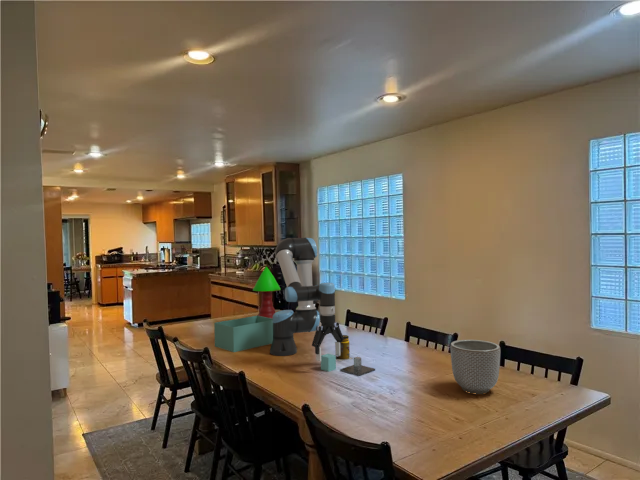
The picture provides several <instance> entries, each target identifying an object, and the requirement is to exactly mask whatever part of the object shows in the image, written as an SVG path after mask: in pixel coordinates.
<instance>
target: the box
mask: <svg viewBox="0 0 640 480" xmlns="http://www.w3.org/2000/svg"><path fill="white" fill-rule="evenodd" d="M272 321H273V319H272V318H267V317H262V316H257V315H252V316H246V317H240V318H235V319H229V320H223V321H217V322H213V323H214V328H213V329H214V333H213V334H214V347H216V348H219V349H222V350H226V351H227V352H231V353H237V352H241V351H246V350H249V349H254V348H260V347H263V346H267V345H272V341H273V323H272Z"/></svg>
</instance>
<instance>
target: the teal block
mask: <svg viewBox="0 0 640 480" xmlns="http://www.w3.org/2000/svg"><path fill="white" fill-rule="evenodd" d="M336 357H337V355H334V354H331V353H326V354H321V361H320V370H321V371H324V372H331V371H335V370H337V360H336Z"/></svg>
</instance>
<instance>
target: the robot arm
mask: <svg viewBox="0 0 640 480" xmlns="http://www.w3.org/2000/svg"><path fill="white" fill-rule="evenodd" d="M317 256H318V246H317V243H316V241H315V240H314V238H311V237H287V238H284V239H282V240H281V241H280V242H279V243H278V244H277V246H276V247H275V250H274V257H275V260H276V261H277V263H279V266H280V267H279V268H281V272H282V276H283V280H284V282H285V284H286V285H285V286H286V287H285V288H284V299H285V301H286V302H288V303H297V304H298V305H297V306H296V308H295V312H294V310H292V309H283V310H279V311H275V313H274V314H273V321H272V323H273V341H272V344H270V348H269V354H271V356H276V357H277V356H280V357H283V356H287V357H288V356H292V355H295V354H297V352H298V349H297V345H296V341H295V339H294V334H299V333H311V332H315V333H314V335H313V336H314V337H313V340H312V343H311V346H312V347H314V349H315V351H314V354H315V361H317V362H321V356H322V347H321V345H322V344H323V341H324V339H325V337H326V336H327V335H328V334H331V336H333V338H334V339H335V342H334V343H335V345H334V347H335V351H334V352H335V355H336V356H337V357H338V356H340V348H341V342H342V341H343V340H344V338H343V335H344V334H343V333H342V330H341V328H340V323H339V322H337V321H336V315H335V314H336V294H335V293H336V288H335V284H334V282H321V283H319V284H316V285H313V267H312V265H313V263H314V261H315V258H317ZM295 264H296V265H295ZM314 301H319V310H317V307H316V306H315V305H314Z"/></svg>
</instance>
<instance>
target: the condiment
mask: <svg viewBox="0 0 640 480" xmlns="http://www.w3.org/2000/svg"><path fill="white" fill-rule="evenodd" d="M342 335H343V338H344V340H343V341H342V342H341V348H340V356H338V355H337V356H336V361H340V362H342V361H347V360H348V361H349V360H352V359H353V360H354V357H350V355H351V353H350V340H349V339H350V338H349V335H347V334H342Z"/></svg>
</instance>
